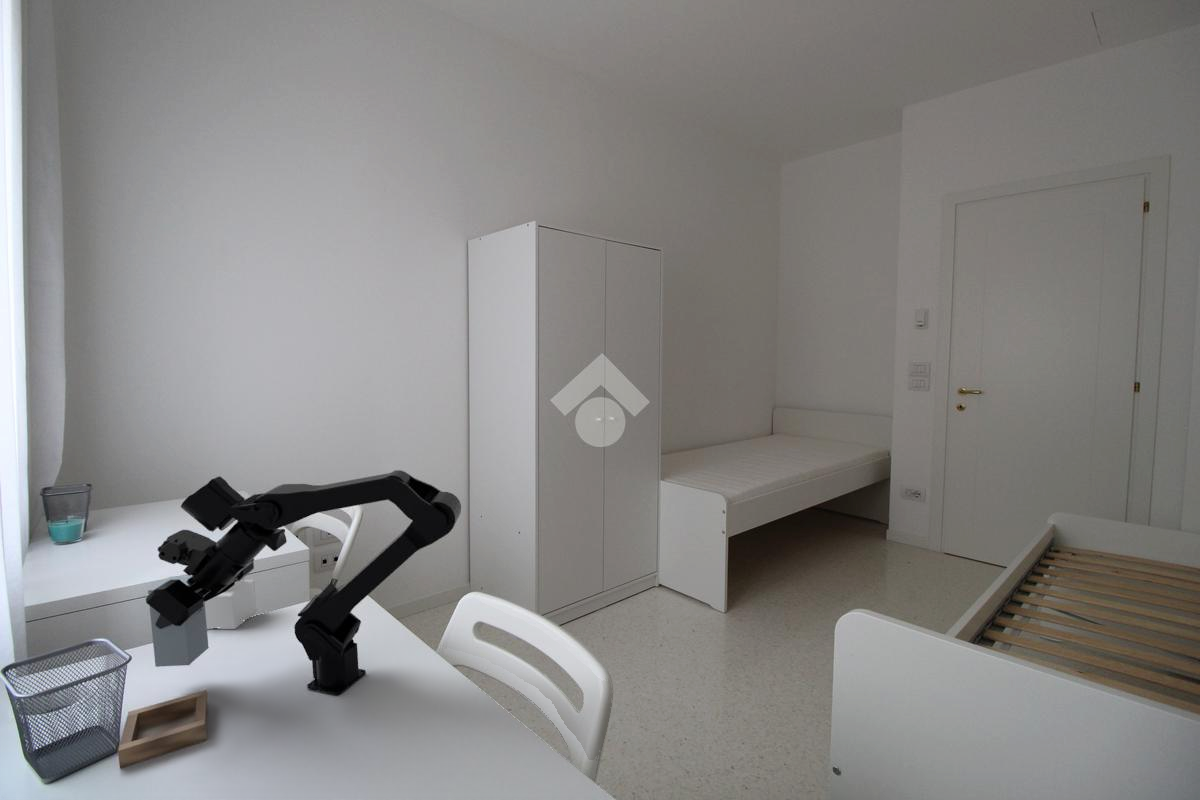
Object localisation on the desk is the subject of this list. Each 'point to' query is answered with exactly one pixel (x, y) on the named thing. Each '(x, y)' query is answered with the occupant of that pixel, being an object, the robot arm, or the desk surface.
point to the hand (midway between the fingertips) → (170, 618)
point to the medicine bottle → (232, 606)
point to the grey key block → (179, 636)
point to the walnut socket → (163, 728)
